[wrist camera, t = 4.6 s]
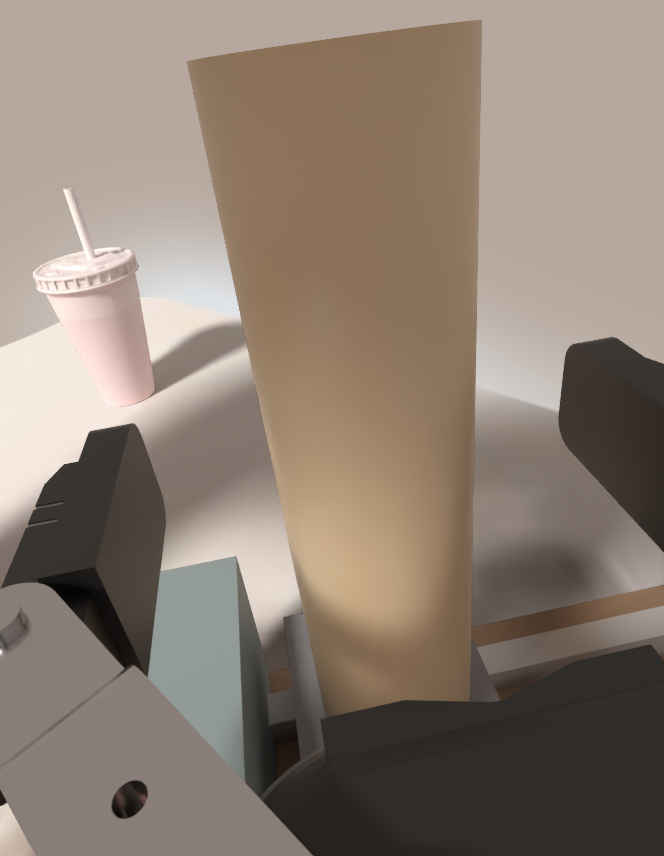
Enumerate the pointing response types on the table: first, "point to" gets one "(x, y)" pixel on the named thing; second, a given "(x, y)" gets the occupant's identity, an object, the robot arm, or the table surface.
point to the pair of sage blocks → (215, 665)
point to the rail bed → (519, 651)
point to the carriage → (361, 344)
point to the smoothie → (101, 314)
